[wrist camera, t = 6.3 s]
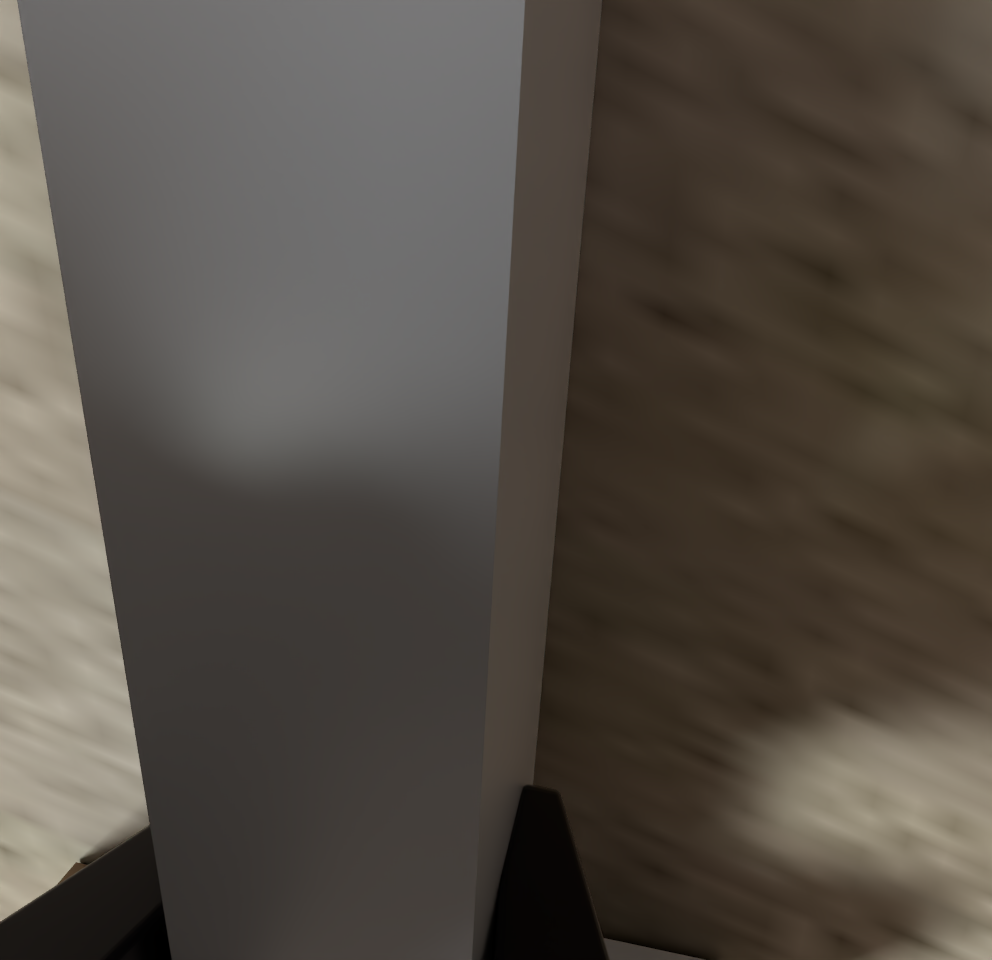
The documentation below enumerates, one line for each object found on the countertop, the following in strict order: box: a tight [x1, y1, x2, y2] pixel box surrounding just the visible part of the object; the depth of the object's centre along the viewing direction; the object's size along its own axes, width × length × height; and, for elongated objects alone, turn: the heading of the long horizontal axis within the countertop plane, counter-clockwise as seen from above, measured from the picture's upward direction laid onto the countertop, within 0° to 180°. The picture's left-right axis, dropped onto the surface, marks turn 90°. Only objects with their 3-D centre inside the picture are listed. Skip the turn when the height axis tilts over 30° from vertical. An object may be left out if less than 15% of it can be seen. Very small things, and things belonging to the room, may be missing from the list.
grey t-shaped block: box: [17, 0, 704, 960], centre depth 7 cm, size 8×13×4 cm, turn 177°
